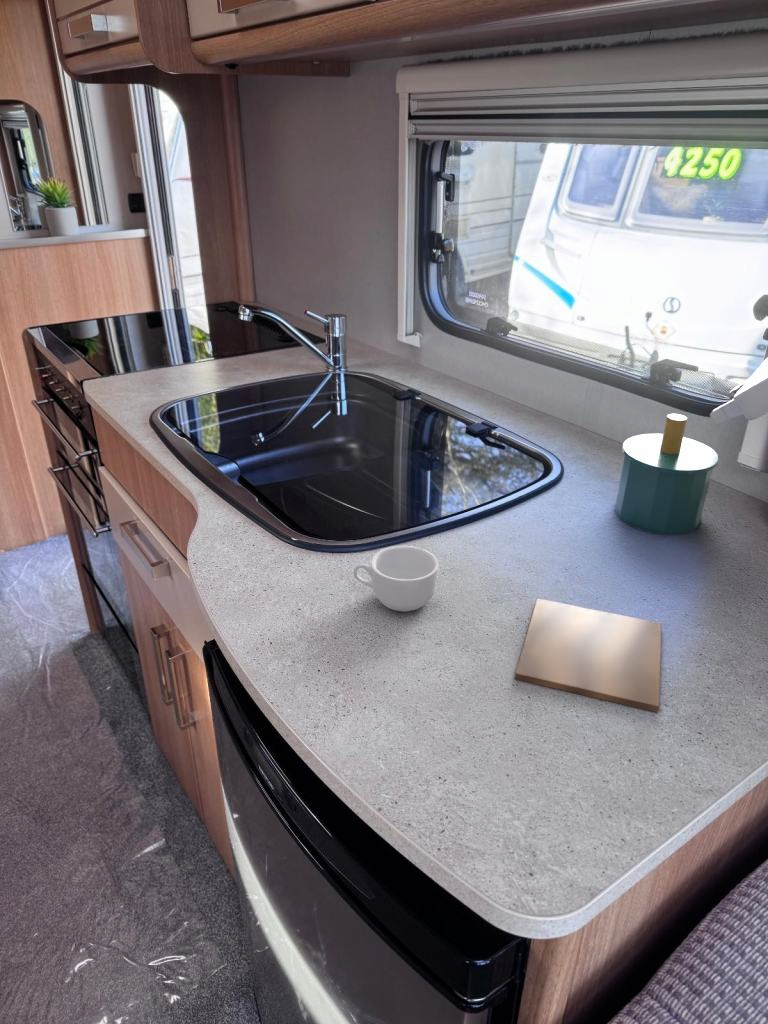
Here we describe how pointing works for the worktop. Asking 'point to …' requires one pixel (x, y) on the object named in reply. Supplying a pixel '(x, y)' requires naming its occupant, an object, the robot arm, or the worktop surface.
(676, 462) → the tin lid
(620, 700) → the plate
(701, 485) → the tea tin
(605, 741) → the worktop surface
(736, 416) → the robot arm
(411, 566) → the teacup
